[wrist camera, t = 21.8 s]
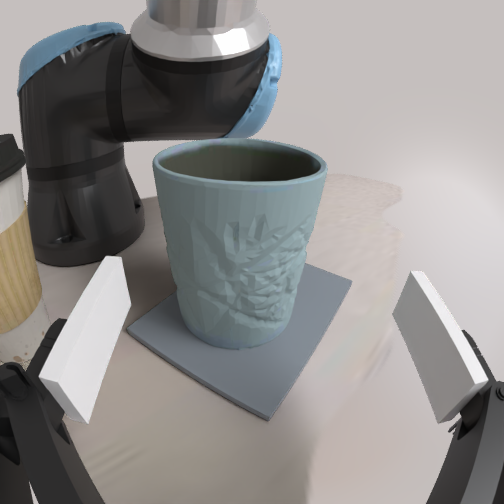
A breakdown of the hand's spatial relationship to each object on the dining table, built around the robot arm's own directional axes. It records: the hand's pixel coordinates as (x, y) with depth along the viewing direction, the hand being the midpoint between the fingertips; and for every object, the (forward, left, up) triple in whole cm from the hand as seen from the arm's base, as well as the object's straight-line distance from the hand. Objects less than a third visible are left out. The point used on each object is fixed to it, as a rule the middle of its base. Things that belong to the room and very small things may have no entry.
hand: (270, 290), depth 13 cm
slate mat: (-4, +7, -9) cm, 12 cm away
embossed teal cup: (-5, +5, -8) cm, 11 cm away
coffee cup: (-17, -8, -9) cm, 21 cm away
